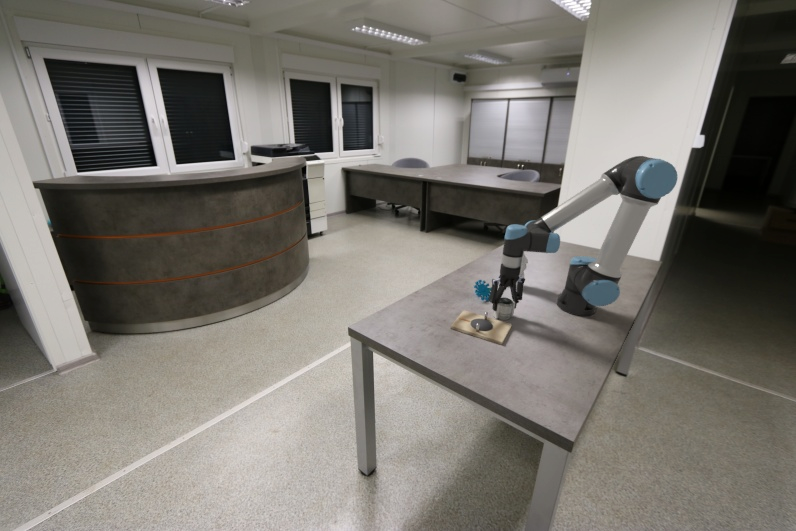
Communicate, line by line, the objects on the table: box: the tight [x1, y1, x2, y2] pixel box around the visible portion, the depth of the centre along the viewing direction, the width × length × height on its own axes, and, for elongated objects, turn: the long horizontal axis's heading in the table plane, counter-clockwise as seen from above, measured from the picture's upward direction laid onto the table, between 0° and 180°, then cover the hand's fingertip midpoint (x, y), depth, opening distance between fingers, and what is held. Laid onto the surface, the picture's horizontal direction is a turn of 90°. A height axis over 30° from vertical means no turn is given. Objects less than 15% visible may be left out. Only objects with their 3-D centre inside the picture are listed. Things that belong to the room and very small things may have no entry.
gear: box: [473, 279, 492, 302], centre depth 160 cm, size 11×6×10 cm
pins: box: [476, 311, 489, 332], centre depth 135 cm, size 1×11×3 cm, turn 150°
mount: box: [450, 310, 513, 345], centre depth 136 cm, size 20×14×1 cm
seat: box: [471, 319, 493, 331], centre depth 136 cm, size 8×8×1 cm
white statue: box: [508, 251, 529, 291], centre depth 169 cm, size 12×12×22 cm
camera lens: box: [497, 297, 513, 321], centre depth 143 cm, size 6×6×8 cm
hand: (502, 315), depth 144 cm, fingers closed on camera lens, 6 cm apart
